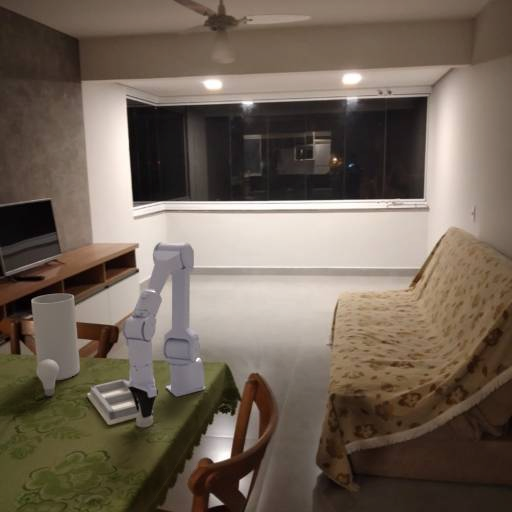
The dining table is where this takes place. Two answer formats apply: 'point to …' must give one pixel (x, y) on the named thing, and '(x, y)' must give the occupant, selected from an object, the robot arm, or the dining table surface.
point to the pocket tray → (113, 401)
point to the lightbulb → (48, 375)
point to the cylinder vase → (56, 332)
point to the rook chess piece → (143, 420)
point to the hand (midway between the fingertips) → (144, 413)
